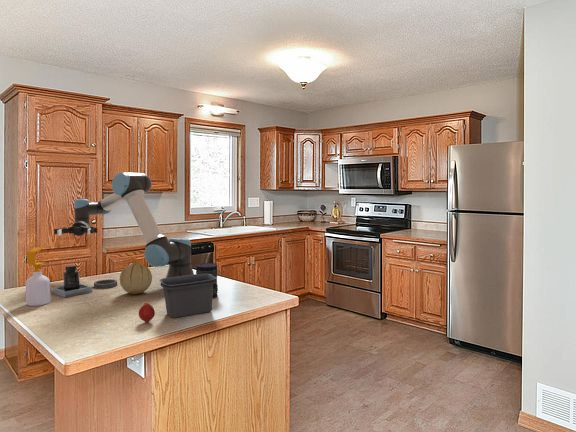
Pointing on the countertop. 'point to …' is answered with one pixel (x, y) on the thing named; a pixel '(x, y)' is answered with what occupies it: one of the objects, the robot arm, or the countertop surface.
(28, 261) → the soap bottle
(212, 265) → the storage jar
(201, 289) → the storage bin
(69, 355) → the countertop surface
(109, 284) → the holster ring
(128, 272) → the cantaloupe
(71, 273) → the supplement bottle
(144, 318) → the pomegranate
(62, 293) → the tray
